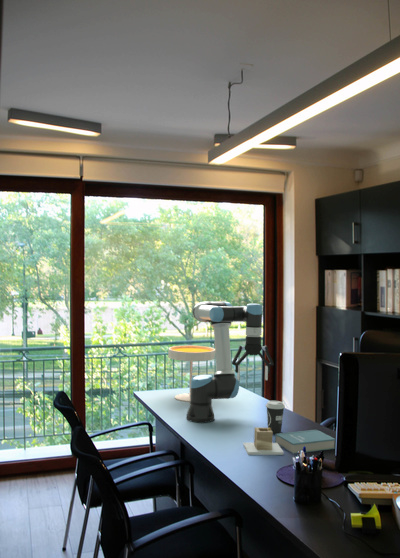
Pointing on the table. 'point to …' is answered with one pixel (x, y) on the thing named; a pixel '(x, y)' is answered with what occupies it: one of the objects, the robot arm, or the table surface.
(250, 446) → the plate
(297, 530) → the table surface
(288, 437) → the book
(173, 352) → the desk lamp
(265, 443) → the wooden cubby shelf
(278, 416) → the coffee cup
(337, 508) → the table surface
